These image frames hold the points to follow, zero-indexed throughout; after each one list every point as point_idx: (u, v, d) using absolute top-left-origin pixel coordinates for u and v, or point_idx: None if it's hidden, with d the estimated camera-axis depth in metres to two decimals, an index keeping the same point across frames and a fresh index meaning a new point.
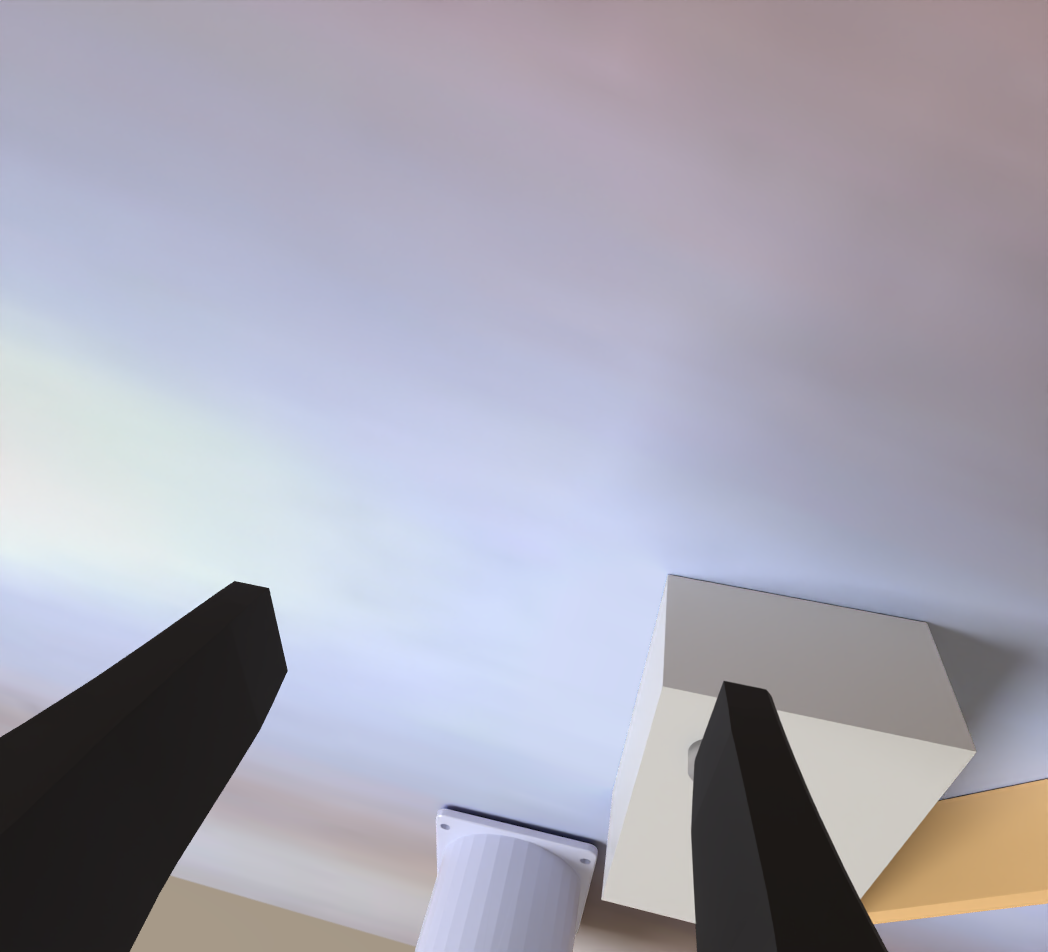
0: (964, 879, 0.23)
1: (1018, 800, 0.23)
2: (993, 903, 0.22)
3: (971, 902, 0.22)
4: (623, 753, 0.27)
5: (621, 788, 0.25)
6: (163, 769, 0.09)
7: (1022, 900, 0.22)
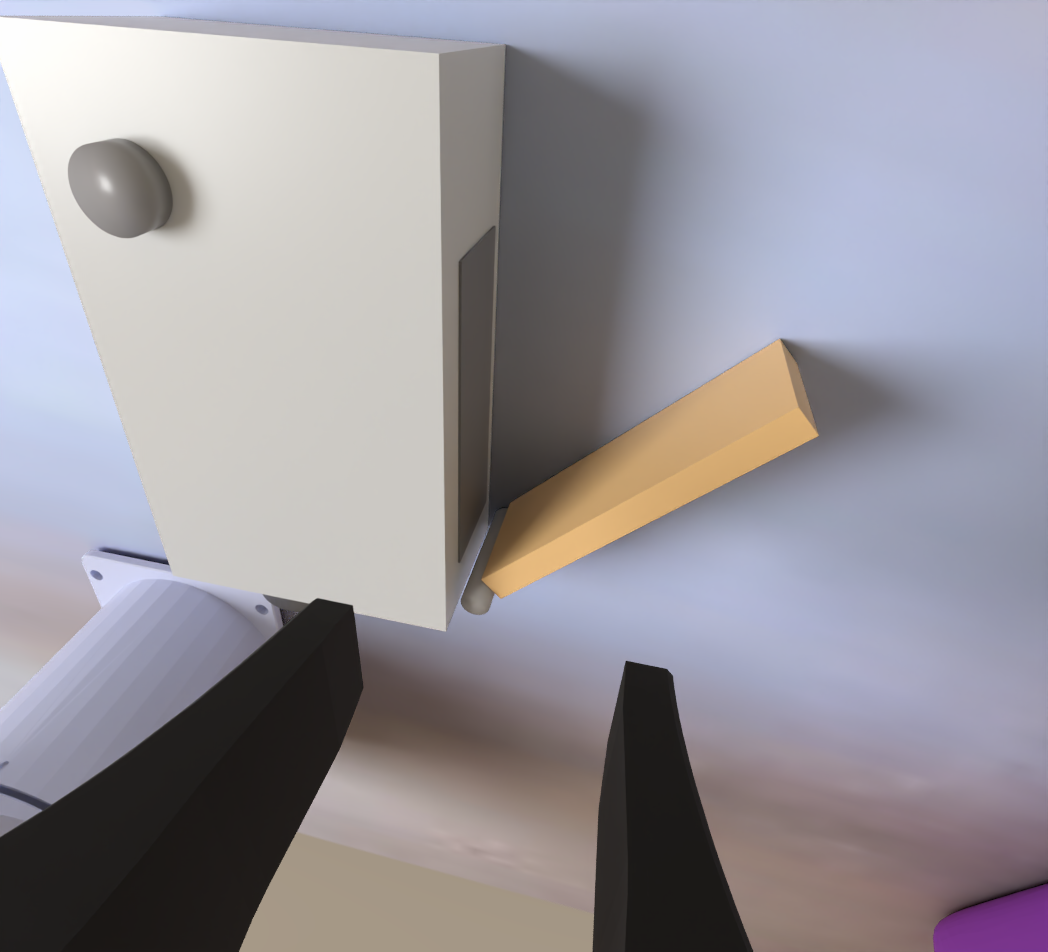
0: (618, 491, 0.16)
1: (706, 392, 0.17)
2: (645, 508, 0.15)
3: (618, 513, 0.16)
4: None
5: None
6: (261, 793, 0.09)
7: (677, 492, 0.15)
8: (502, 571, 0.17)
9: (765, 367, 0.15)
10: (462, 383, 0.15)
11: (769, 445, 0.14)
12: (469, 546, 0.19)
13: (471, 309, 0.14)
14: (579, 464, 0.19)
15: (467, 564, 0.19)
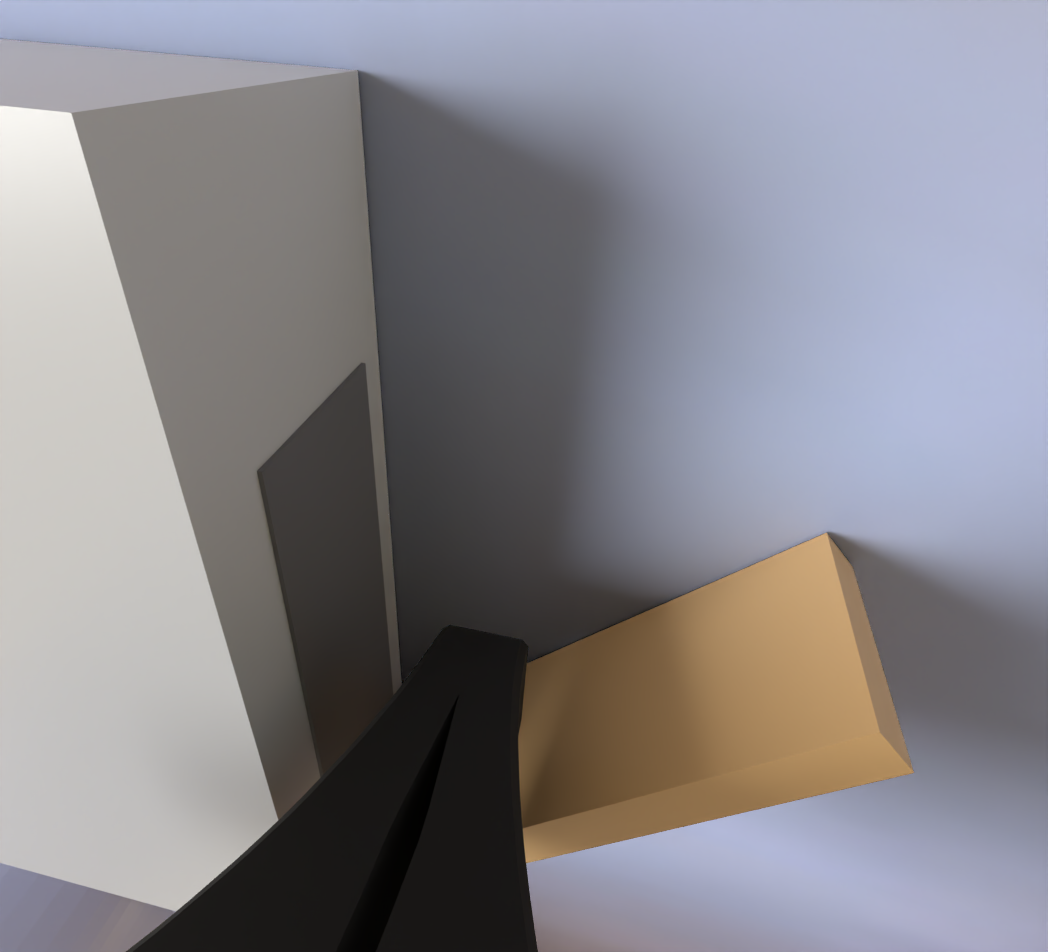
0: (571, 776, 0.10)
1: (710, 606, 0.11)
2: (611, 825, 0.09)
3: (568, 825, 0.10)
4: None
5: None
6: (420, 833, 0.08)
7: (663, 814, 0.09)
8: None
9: (806, 591, 0.10)
10: (300, 637, 0.09)
11: (823, 775, 0.08)
12: None
13: (310, 520, 0.08)
14: None
15: None
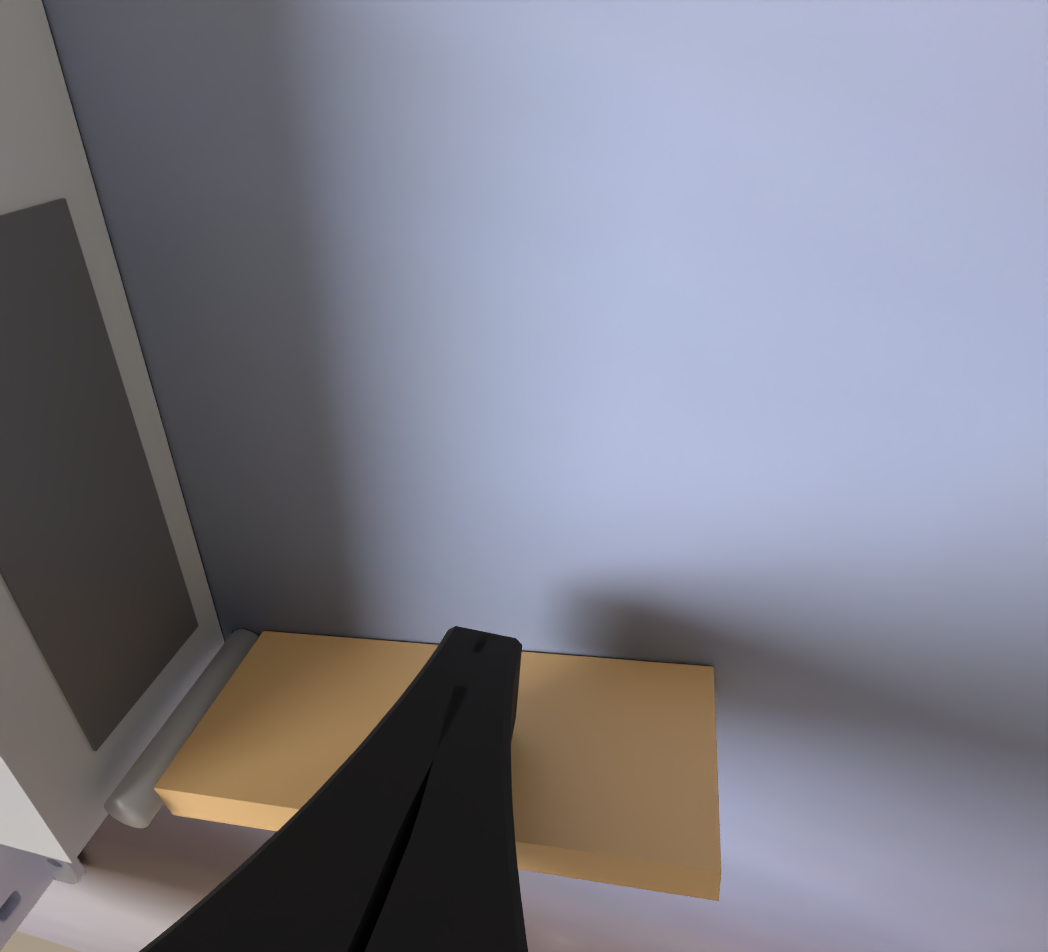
0: None
1: (595, 681, 0.12)
2: None
3: None
4: None
5: None
6: None
7: None
8: (192, 797, 0.11)
9: (685, 713, 0.11)
10: None
11: (653, 879, 0.09)
12: (147, 707, 0.12)
13: None
14: (383, 650, 0.13)
15: (146, 733, 0.12)
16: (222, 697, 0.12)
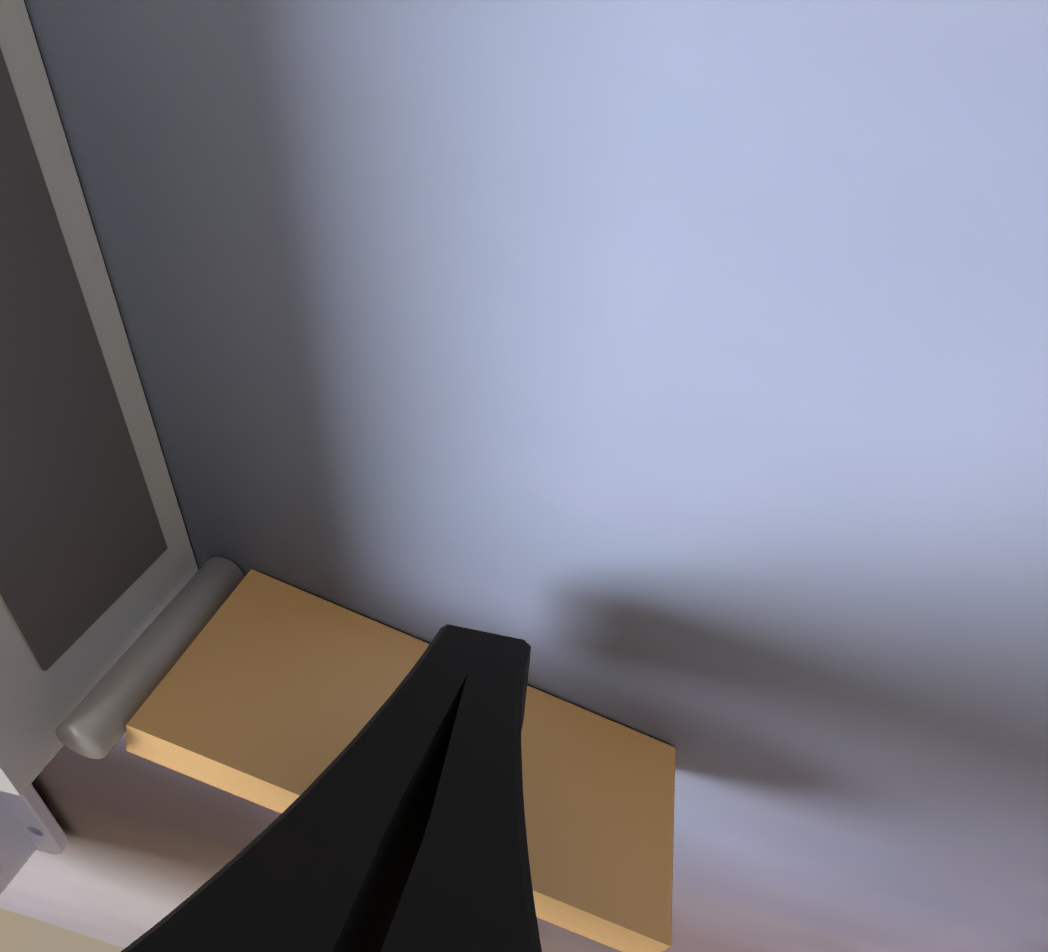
0: None
1: (578, 732, 0.13)
2: None
3: None
4: None
5: None
6: (418, 833, 0.08)
7: None
8: (170, 746, 0.10)
9: (650, 786, 0.12)
10: None
11: (605, 935, 0.11)
12: (108, 630, 0.11)
13: None
14: (380, 634, 0.13)
15: (108, 660, 0.11)
16: (205, 636, 0.11)
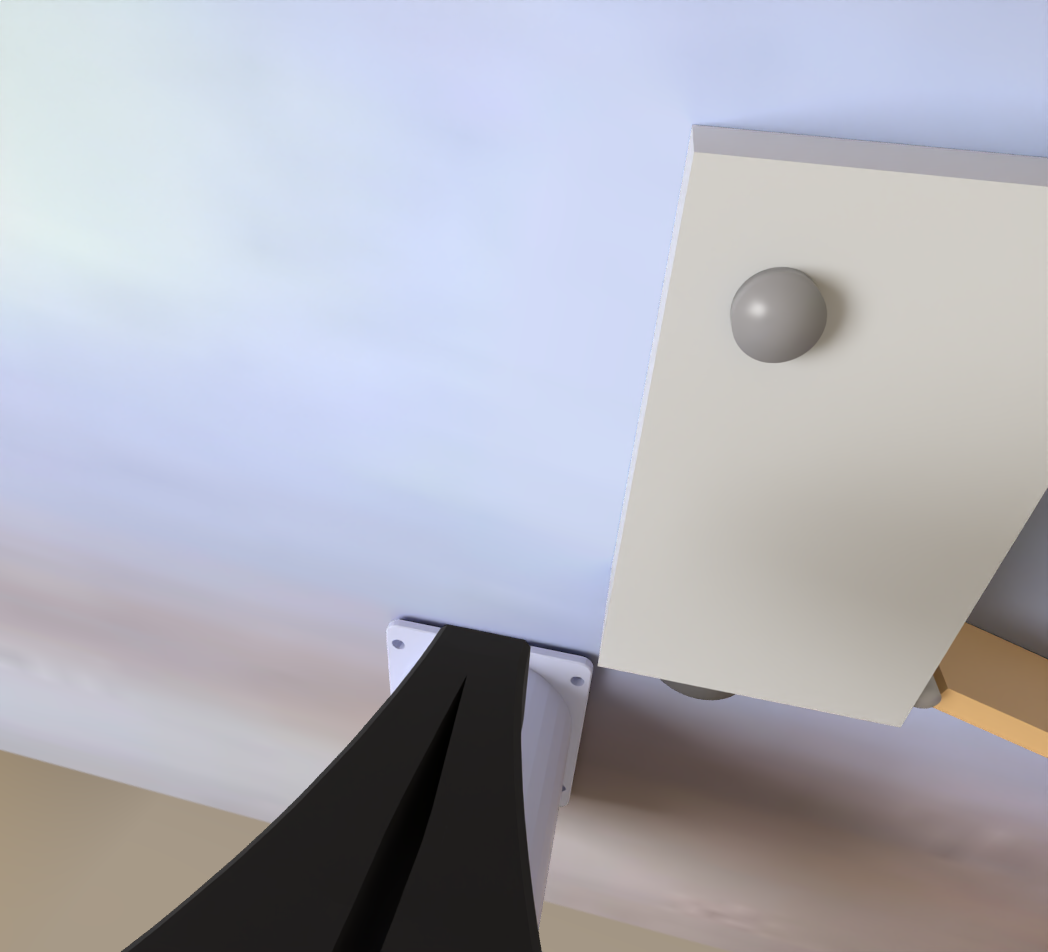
0: None
1: None
2: None
3: None
4: None
5: None
6: (418, 832, 0.08)
7: None
8: (968, 701, 0.18)
9: None
10: None
11: None
12: None
13: None
14: (994, 639, 0.20)
15: None
16: None
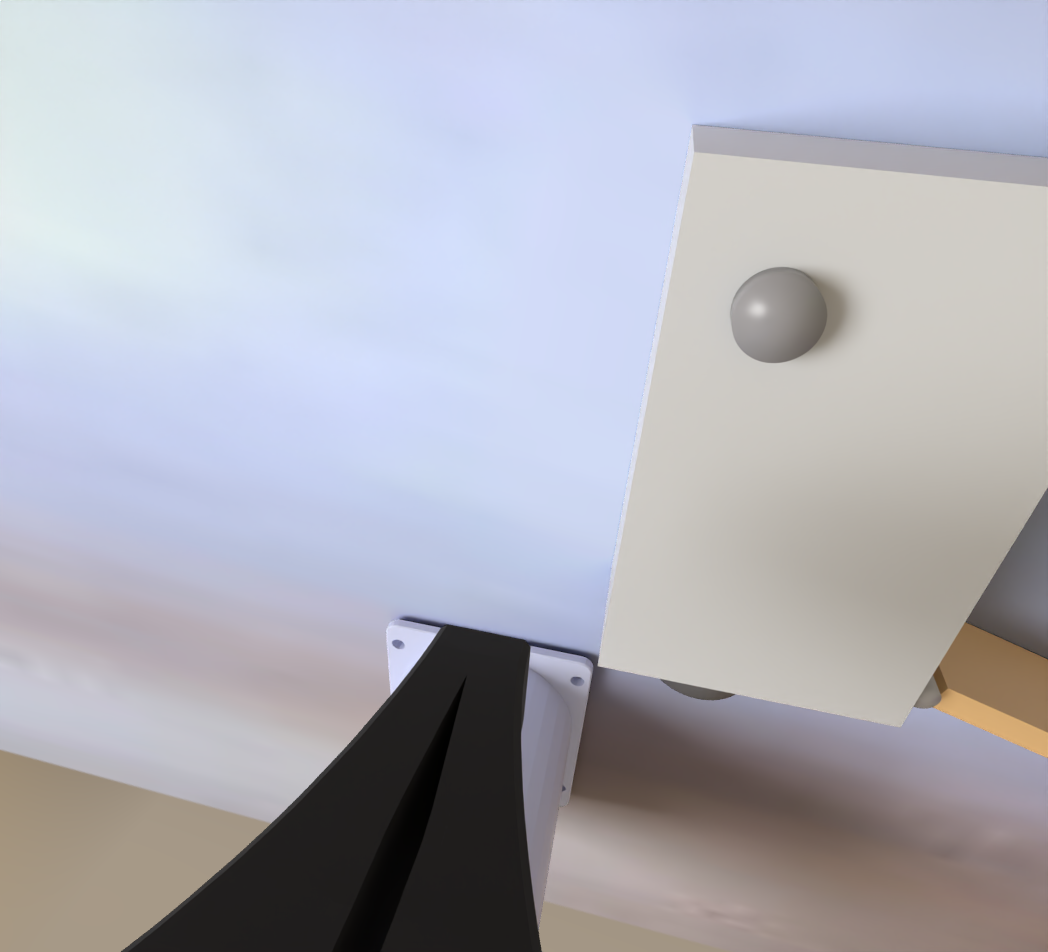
0: None
1: None
2: None
3: None
4: None
5: None
6: (417, 832, 0.08)
7: None
8: (968, 701, 0.18)
9: None
10: None
11: None
12: None
13: None
14: (994, 640, 0.20)
15: None
16: None
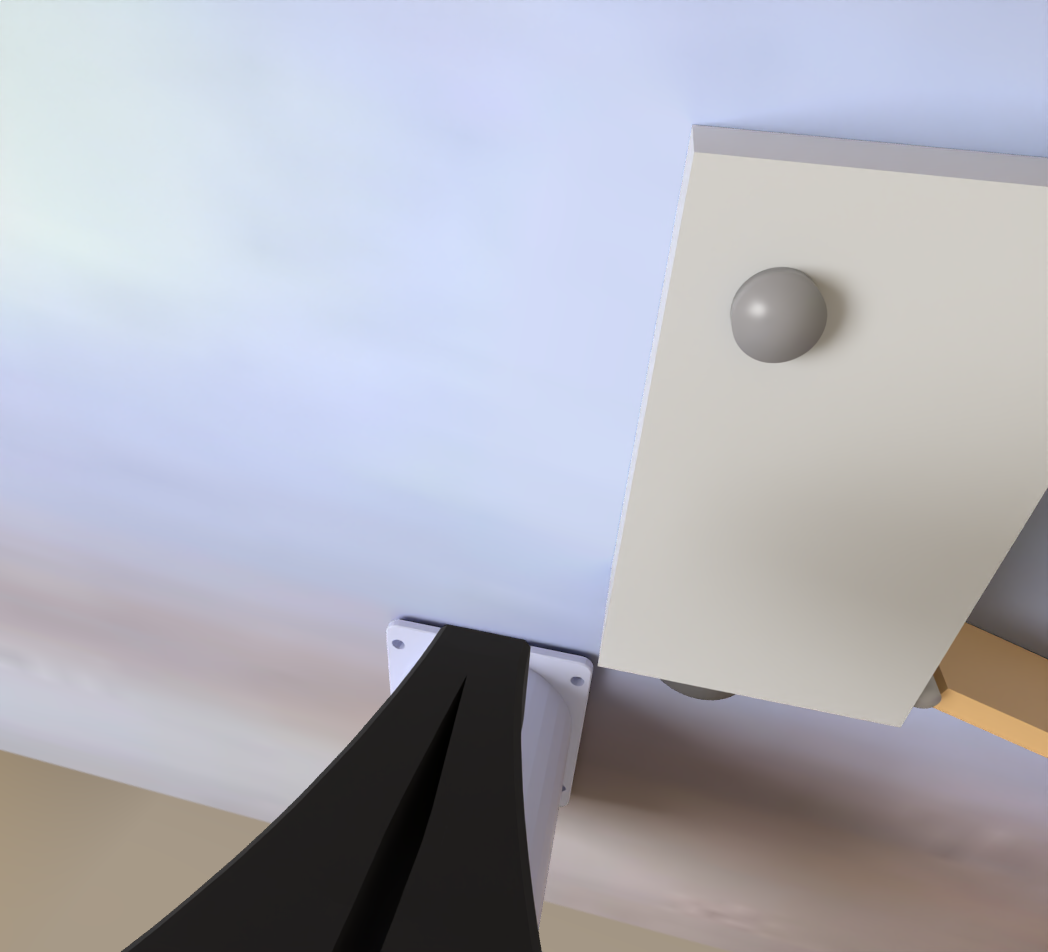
0: None
1: None
2: None
3: None
4: None
5: None
6: (417, 832, 0.08)
7: None
8: (968, 701, 0.18)
9: None
10: None
11: None
12: None
13: None
14: (994, 640, 0.20)
15: None
16: None
